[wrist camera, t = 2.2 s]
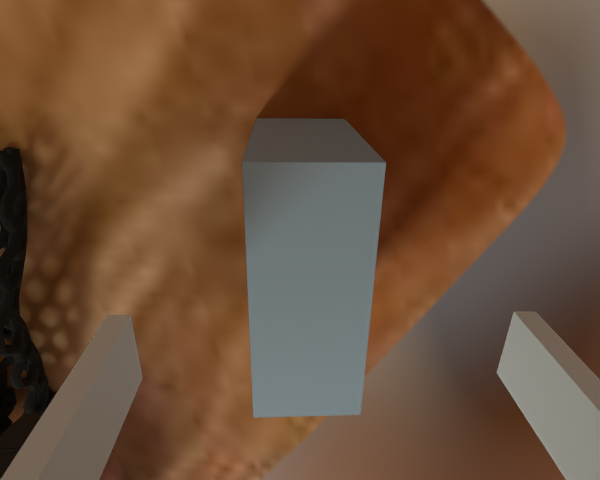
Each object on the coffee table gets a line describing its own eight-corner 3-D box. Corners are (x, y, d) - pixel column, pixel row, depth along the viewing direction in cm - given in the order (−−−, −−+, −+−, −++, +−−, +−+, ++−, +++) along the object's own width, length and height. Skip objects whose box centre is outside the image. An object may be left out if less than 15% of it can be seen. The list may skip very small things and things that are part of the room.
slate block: (334, 298, 29) (360, 414, 19) (261, 299, 28) (253, 417, 19) (344, 118, 24) (386, 162, 14) (256, 117, 23) (241, 162, 14)
